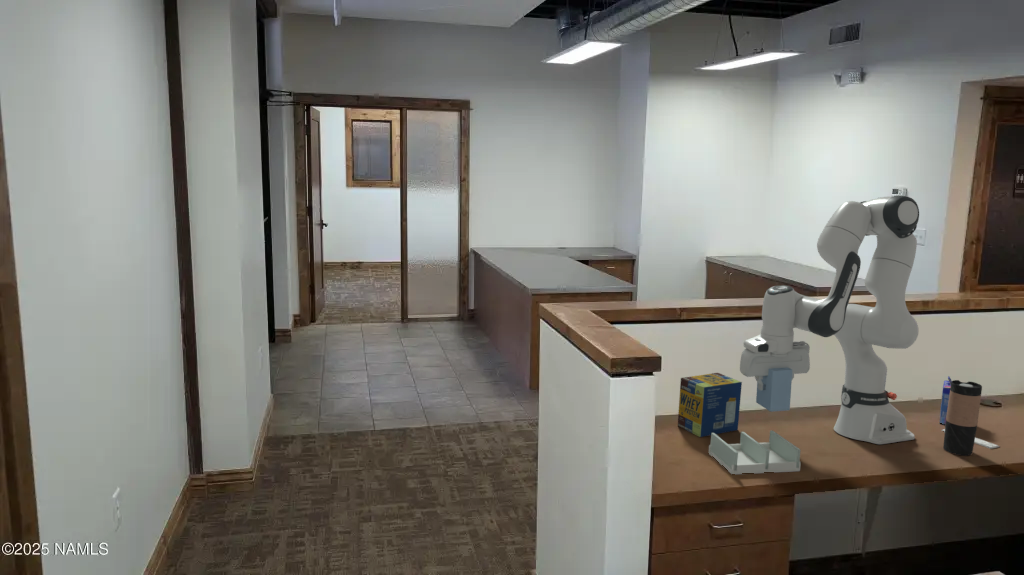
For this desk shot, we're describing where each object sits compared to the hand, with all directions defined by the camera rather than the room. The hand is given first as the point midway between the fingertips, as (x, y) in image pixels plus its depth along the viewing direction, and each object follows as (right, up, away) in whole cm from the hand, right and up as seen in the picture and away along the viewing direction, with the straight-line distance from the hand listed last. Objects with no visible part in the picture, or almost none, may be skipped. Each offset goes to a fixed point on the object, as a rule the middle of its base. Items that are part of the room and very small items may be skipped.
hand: (773, 389), depth 208 cm
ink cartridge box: (+65, -14, +24) cm, 71 cm away
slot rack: (-10, -18, -13) cm, 25 cm away
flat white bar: (+63, -17, +9) cm, 65 cm away
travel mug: (+52, -18, -1) cm, 55 cm away
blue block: (0, -5, +1) cm, 5 cm away
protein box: (-16, -14, +12) cm, 24 cm away
